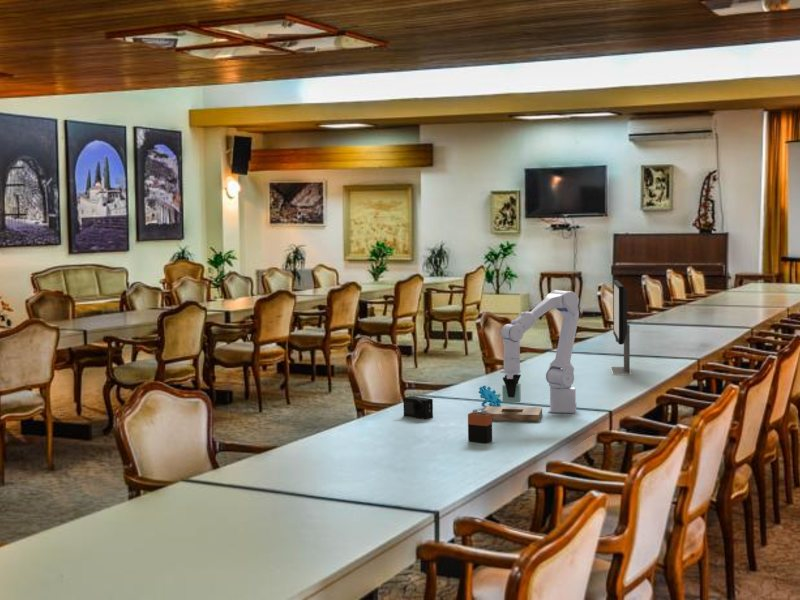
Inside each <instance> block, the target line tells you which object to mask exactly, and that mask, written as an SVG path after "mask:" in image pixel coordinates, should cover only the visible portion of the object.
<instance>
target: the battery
mask: <svg viewBox="0 0 800 600" xmlns="http://www.w3.org/2000/svg"><path fill="white" fill-rule="evenodd" d="M487 412H488V411H486V410H485V409H484V410H481V411H478V410H477V409H473V410H472V412H470V413H468V414H467V440H468V442H470V443H478V444H479V443H480V444H488V443H490V442H492V441H493V421H492V414H491V413H487Z"/></svg>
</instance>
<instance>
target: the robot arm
mask: <svg viewBox="0 0 800 600" xmlns="http://www.w3.org/2000/svg"><path fill="white" fill-rule="evenodd" d="M579 303H580V298H579V297H578V295H577V293H575V292H574V291H572V290H571V291H570V290H559V289H554V290H552V291H551V292H549V293H548V294H546V296H545V298H544V299H542V301H541V302H539V303H538V304H537V305H536V306H535V307H534V308H533V309H532V310H531V311H522V312H520V315H519V316H518V317H517V318H515V319H512V320H511V321H510V323H506V324H504V325H503V326H502V328H501V330H500V331H499V335H500V338H501V339H502V344H503V369H500V371H499V372H500V373H503V374H505V375H504V376H503V377H502V380H503V382H504V383H505V385H506V389H507V394H508V397H514V396H515V391H516V385H517V384H519V381H520V379H521V376H522V375H521V372H522V371H521V353H520V352H521V348H520V347H521V345H520V344H521V343H520V342H521V340H522V339H523V338H524V334H525V333H527V331H528V330H531V328H532V327H534V326H535V325H536V323H537V319H539V318H540V317H542V316H544V314H546V313H547V312H549V311H550V310H552V309H555V310H556V311H558V312H559V313H560V315H561V316H562V320H561V321H562V322H561V328H560V332H559V338H558V342H557V348H556V351H555V358H554V359H553V360H552V362H550V364H549V366H548V369H547V370H546V373H545V379H546V382H547V383H548V386H549V395H550V396H549V404H550V405H549V406H550V407H549V409H548V413H558V414H559V413H562V414H563V413H567V414H569V413H570V414H575V413H576V410H577V402H576V399H577V397H576V396H577V394H576V392H577V391H576V387H574V386H573V384H574V382H575V374H574V372H575V371H574V370H575V367H574V366H573V364H572V362H571V359H572V355H573V351H574V350H573V348H574V343H575V338H576V334H577V333H576V332H577V328H578V324H579V323H578V322H579V319H580V318H579V317H580V310H579ZM504 383H503V384H504ZM572 386H573V387H572Z"/></svg>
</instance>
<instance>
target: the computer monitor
mask: <svg viewBox="0 0 800 600" xmlns="http://www.w3.org/2000/svg"><path fill="white" fill-rule="evenodd" d="M612 281H613V282H612V284H613V285H612V288H613V289H612V290H613V291H612V294H613V295H612V296H613V297H612V301H613V303H612V304H613V305H612V309H613V310H612V311H613V313H612V314H613V315H612V317H613V318H612V319H613V320H612V322H613V323H612V327H613V329H612V331H613V332H612V333H613V336H614V338H615V339H614V340H615V342H617V343H618V345H623V366H610V367H609V370H610V373H611V374H612V375H614V376H631V375H632V371H631V370H630V362H631V361H630V359H631V357H630V353H631V351H630V349H631V347H630V339H631V338H630V335H631V333H630V330H631V329H630V323H628V291H627V289H626V288H625V287H624V286H623V284H622V283H621V282H620V281H619V280H618V279H614V280H612Z"/></svg>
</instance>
